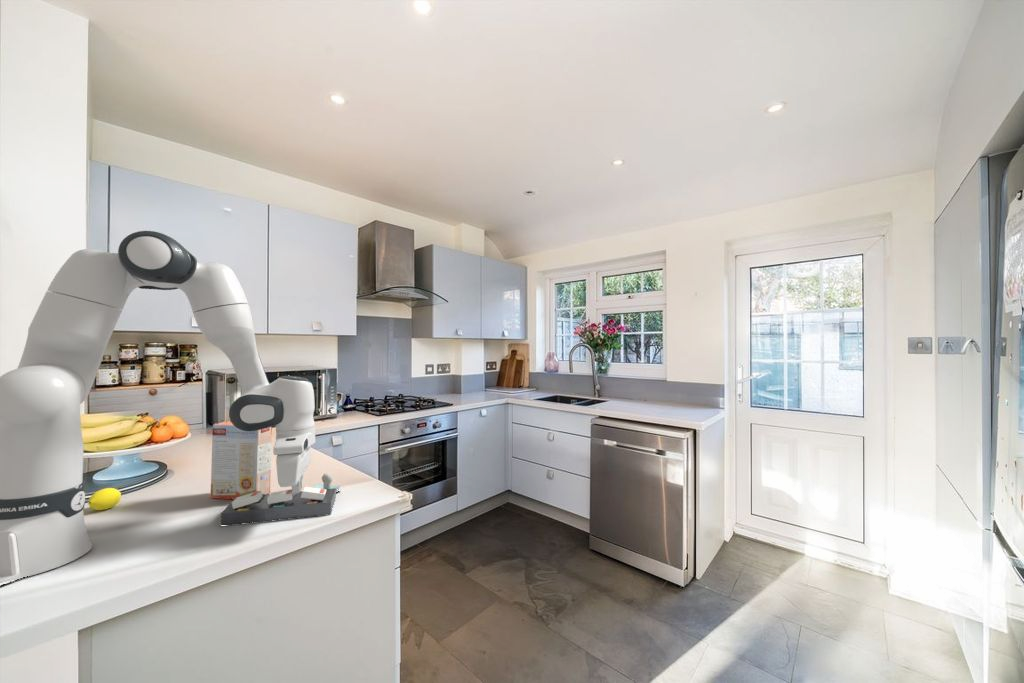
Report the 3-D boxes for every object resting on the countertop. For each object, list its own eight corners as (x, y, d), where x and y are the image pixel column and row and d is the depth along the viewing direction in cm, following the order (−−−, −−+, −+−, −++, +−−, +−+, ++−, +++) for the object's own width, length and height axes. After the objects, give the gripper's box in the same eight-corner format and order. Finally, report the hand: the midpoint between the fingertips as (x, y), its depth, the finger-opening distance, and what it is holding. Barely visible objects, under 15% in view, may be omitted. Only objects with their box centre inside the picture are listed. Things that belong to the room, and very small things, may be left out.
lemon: (107, 505, 102) (111, 484, 103) (126, 506, 102) (130, 485, 103) (77, 513, 96) (81, 491, 96) (97, 514, 95) (101, 491, 96)
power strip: (220, 526, 91) (221, 510, 91) (236, 509, 101) (236, 494, 101) (330, 514, 99) (331, 499, 99) (335, 499, 108) (336, 486, 108)
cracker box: (271, 493, 112) (273, 421, 112) (255, 501, 106) (257, 425, 106) (227, 490, 113) (229, 419, 114) (209, 498, 107) (211, 423, 108)
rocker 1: (233, 509, 93) (231, 502, 93) (238, 503, 96) (236, 497, 96) (258, 501, 95) (256, 494, 95) (262, 496, 98) (260, 489, 98)
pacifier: (323, 489, 117) (310, 496, 111) (324, 468, 117) (311, 474, 111) (345, 490, 116) (334, 497, 110) (346, 469, 116) (335, 475, 110)
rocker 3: (300, 497, 98) (302, 490, 98) (303, 492, 101) (305, 485, 101) (323, 500, 99) (325, 493, 99) (325, 495, 103) (326, 488, 103)
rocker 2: (267, 504, 95) (267, 497, 95) (271, 499, 99) (271, 492, 99) (292, 499, 97) (291, 493, 97) (295, 494, 100) (294, 488, 100)
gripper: (291, 430, 108) (292, 479, 108) (271, 450, 88) (272, 509, 89) (316, 428, 110) (317, 476, 110) (301, 447, 90) (302, 505, 91)
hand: (297, 491), depth 99 cm, fingers closed
